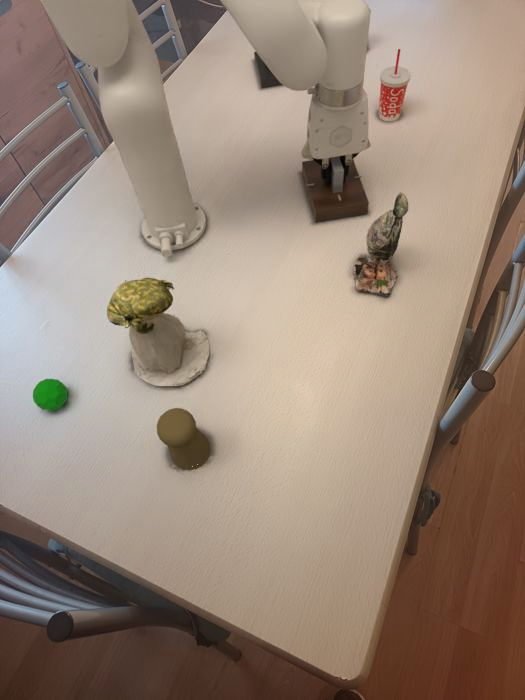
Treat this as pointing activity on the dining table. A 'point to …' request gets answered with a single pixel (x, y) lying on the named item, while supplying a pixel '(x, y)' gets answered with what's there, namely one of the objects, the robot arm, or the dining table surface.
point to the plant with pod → (381, 251)
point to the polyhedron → (50, 394)
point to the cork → (183, 439)
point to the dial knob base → (334, 194)
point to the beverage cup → (392, 91)
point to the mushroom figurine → (157, 333)
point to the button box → (265, 74)
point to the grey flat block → (336, 174)
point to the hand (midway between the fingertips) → (334, 178)
